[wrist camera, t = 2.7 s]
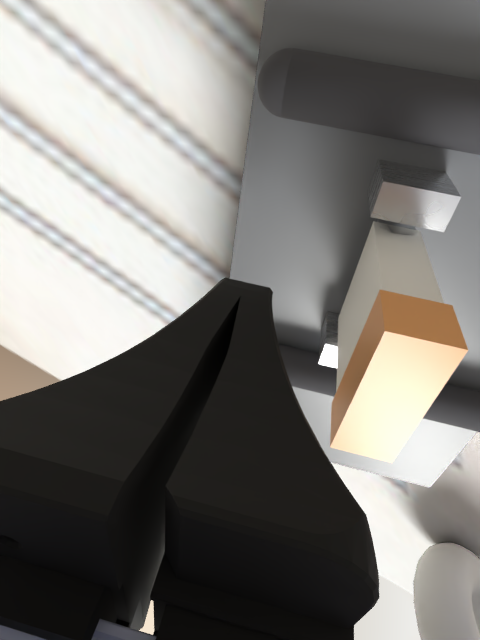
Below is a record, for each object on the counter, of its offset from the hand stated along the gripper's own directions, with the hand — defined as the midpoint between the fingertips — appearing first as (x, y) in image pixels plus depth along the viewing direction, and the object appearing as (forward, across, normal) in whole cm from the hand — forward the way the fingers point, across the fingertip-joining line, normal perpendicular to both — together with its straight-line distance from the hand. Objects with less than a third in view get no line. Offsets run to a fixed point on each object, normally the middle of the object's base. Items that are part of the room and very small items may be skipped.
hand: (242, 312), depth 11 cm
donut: (+8, -18, +23) cm, 30 cm away
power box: (+7, -5, +2) cm, 9 cm away
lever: (+3, -4, 0) cm, 5 cm away
